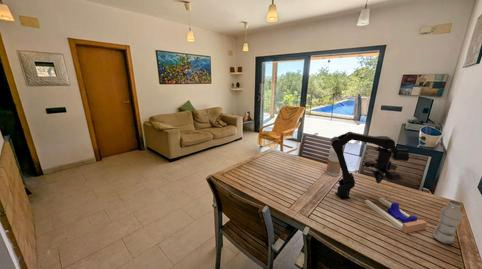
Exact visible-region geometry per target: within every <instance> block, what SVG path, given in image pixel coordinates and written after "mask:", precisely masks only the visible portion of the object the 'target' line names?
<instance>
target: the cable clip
mask: <svg viewBox="0 0 482 269" xmlns="http://www.w3.org/2000/svg"><path fill="white" fill-rule="evenodd" d="M399 209H400V203H398V202H391V208H389V207H387V210H386V213H388V214H389V215H390V216H392V217H393V218H395V219H396V220H398V221H399V222H400V223H402V224H403V223H408V222H413V221H417V220H418V216H416V215H410V216H409V217H408V218H405V217H404V216H403V215H402V214H401V212H400V210H399Z"/></svg>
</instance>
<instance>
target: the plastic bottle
mask: <svg viewBox="0 0 482 269" xmlns="http://www.w3.org/2000/svg"><path fill="white" fill-rule="evenodd" d="M461 209H462V204H461V203H460V202H458V201H455V200H449V201H448V203H447V205H446V206H444V207H442V208H441V210H440V216H439V221H438V224H437V226H436V228H435V229H434V230H433V237H434V239H435V240H436V241H439V242H440V243H443V244H446V245H451V244H453V242H454V241H455V234H456V230H457V227H458V225H459V224H460V222H461V221H462V219H463V213H462V211H461Z"/></svg>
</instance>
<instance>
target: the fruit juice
mask: <svg viewBox="0 0 482 269" xmlns="http://www.w3.org/2000/svg"><path fill="white" fill-rule="evenodd" d="M328 152H329V155H328V157H327V166H326V174H328V176H331V177H338V176H340V173H341V167H340V164H339V160H338V157H337V154H336V152H335V151H334V149H333V147H332V146H330V148H329V151H328Z"/></svg>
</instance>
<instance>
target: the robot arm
mask: <svg viewBox="0 0 482 269" xmlns="http://www.w3.org/2000/svg"><path fill="white" fill-rule="evenodd" d="M350 141H357V142H361V143H367V144H372V145H376V146H377V147H375V148H374V150H375V151H376V152H378V153H377V154H378V155H377V158H375V160H374V161H371V160H370V161H365V162H364V164H363V167H365V168H367V169H368V168H370V167H371V168H372V170H370V171H371V172H372V174H373V176H374V179H375V181H376V183H377V184H381V182H382V181H383V180H384V179H385V178H386V179H388V180H389V181H398V180H399V181H400V180H401V174H399V173H398V172H396V171H397V170H396V169H397V168H398V165H397V164H393V163H392V161H390V160H391V159H392V160H393V161H397V162H398V161H399V162H408V161H409V160H410V154H409V151H410V150H409V149H407V148H397V146H396V142H395V140H393V138H392V137H390V136H386V135H385V136H384V135H379V136H378V135H377V136H375V135H368V134H363V133H359V132H358V133H357V132H352V131H347V132H345V133H343V134H340V135H339V136H335V137H332V138H331V140H330V145H331V147H333V149H334V151H335V152H336V154H337V157H338V160H339V164H340V167H341V168H340V171H341V177H342V178H341V179H339V180H338V185H339V186H337V191H336V192H335V193H334V195H335V196H336V197H337V198H339V199H340V200H341V201H342V200H348V199H351V196H350V192H351V191H352V189H353V188H355V184H356V180H355V176H354V174H353V173H352V172H350V171H349V168H348V164H347V162H346V158H345V156H344V146H345V145H347V144H348V143H349V142H350ZM391 170H392V171H391Z"/></svg>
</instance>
